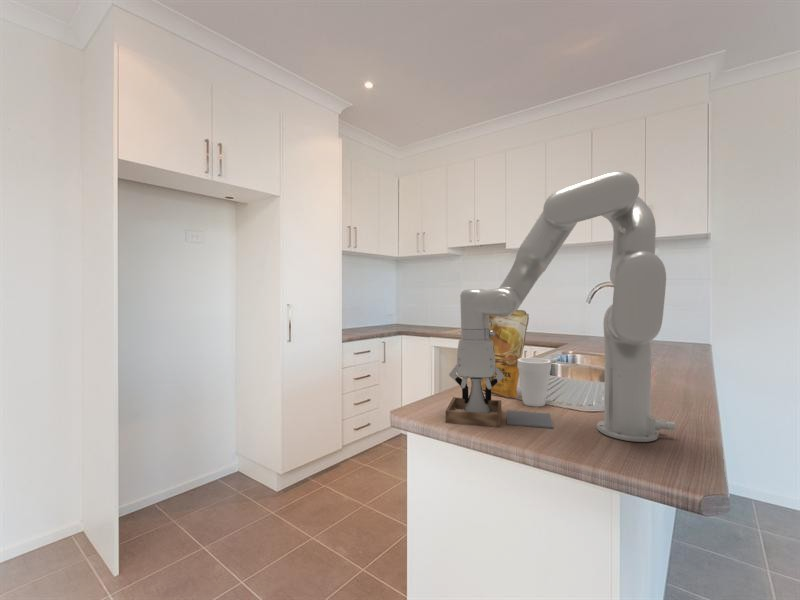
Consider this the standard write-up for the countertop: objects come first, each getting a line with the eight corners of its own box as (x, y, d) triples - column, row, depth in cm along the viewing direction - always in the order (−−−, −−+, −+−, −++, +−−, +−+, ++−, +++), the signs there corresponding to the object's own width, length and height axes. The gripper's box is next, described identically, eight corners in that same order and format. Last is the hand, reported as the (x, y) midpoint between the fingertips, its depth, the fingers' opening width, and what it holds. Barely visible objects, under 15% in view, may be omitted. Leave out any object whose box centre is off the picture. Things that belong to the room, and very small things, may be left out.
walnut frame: (501, 410, 111) (501, 400, 111) (499, 427, 98) (499, 415, 98) (453, 407, 115) (453, 397, 115) (445, 422, 102) (445, 410, 102)
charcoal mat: (549, 414, 107) (549, 413, 107) (553, 428, 97) (553, 427, 97) (507, 411, 110) (507, 410, 110) (506, 424, 100) (507, 423, 100)
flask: (489, 410, 109) (488, 374, 109) (492, 419, 102) (491, 380, 102) (462, 410, 110) (461, 375, 110) (464, 418, 103) (463, 380, 103)
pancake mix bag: (488, 385, 140) (487, 307, 140) (530, 397, 124) (530, 309, 123) (473, 388, 137) (473, 308, 136) (515, 401, 121) (515, 310, 120)
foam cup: (515, 398, 123) (515, 357, 123) (546, 399, 122) (546, 357, 122) (520, 407, 114) (520, 363, 114) (553, 408, 113) (554, 363, 112)
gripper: (508, 333, 107) (509, 400, 107) (446, 333, 112) (447, 397, 112) (507, 336, 100) (509, 408, 100) (441, 336, 104) (443, 404, 105)
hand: (476, 401), depth 106 cm, fingers closed on flask, 4 cm apart
